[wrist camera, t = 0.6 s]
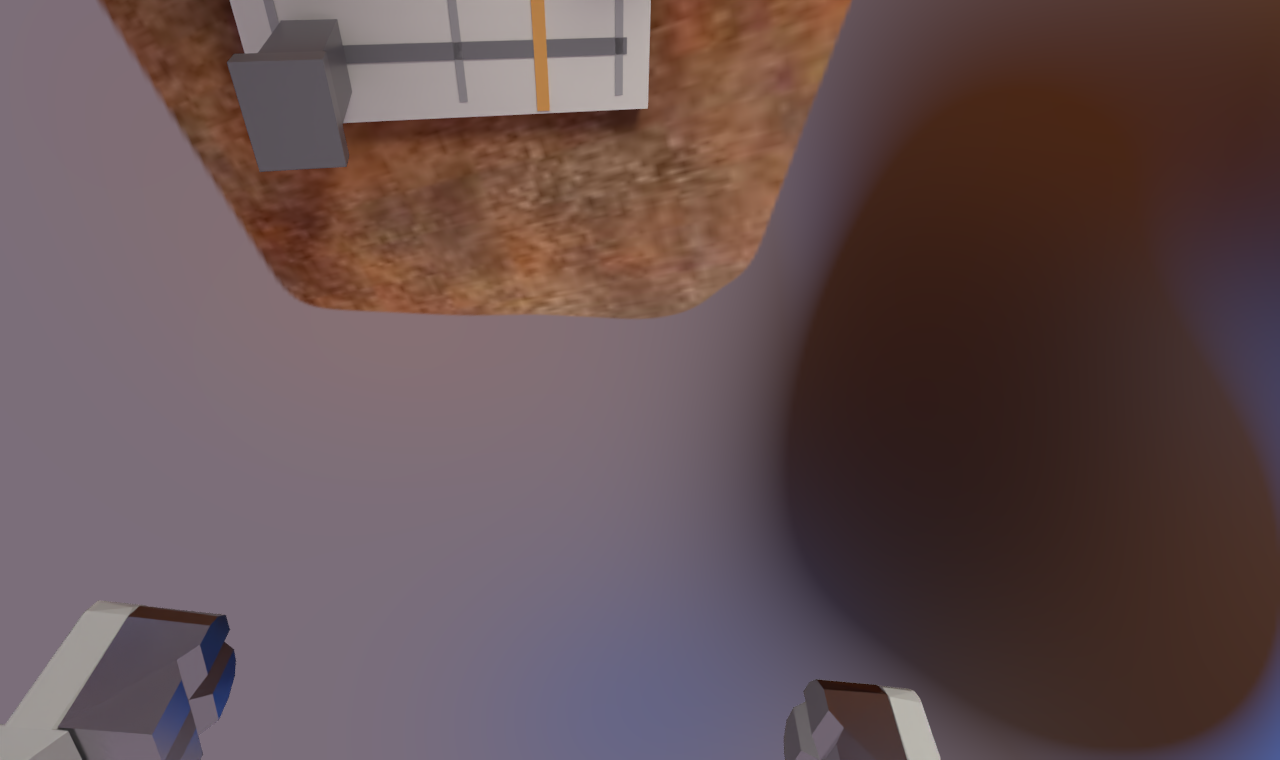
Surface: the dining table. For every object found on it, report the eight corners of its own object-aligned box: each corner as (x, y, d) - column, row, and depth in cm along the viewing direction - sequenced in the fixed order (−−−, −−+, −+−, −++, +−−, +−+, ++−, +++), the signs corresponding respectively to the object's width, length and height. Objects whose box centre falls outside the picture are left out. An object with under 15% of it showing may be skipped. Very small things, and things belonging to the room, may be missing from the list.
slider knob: (292, 102, 44) (259, 171, 36) (269, 10, 41) (226, 62, 33) (362, 99, 45) (346, 166, 36) (344, 9, 42) (322, 59, 33)
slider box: (270, 116, 47) (265, 127, 45) (231, -27, 42) (223, -21, 40) (641, 99, 51) (648, 109, 49) (644, -32, 46) (652, -26, 45)
